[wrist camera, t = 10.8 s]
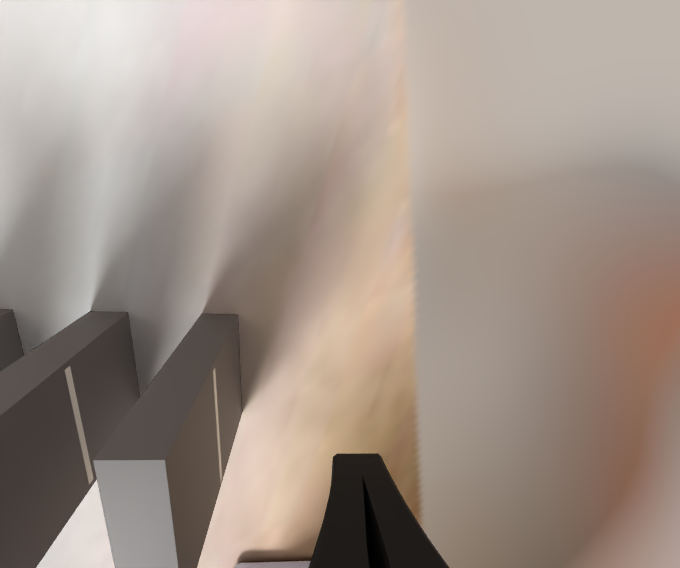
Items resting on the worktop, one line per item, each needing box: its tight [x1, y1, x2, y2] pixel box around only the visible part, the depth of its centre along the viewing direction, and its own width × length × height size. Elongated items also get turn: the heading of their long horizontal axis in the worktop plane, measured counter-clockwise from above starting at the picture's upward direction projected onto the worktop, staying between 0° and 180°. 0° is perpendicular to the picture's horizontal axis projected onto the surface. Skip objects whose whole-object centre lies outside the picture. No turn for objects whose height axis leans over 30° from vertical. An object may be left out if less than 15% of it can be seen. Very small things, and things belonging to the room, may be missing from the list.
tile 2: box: [0, 311, 140, 568], centre depth 12 cm, size 2×5×8 cm, turn 177°
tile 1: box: [93, 314, 242, 568], centre depth 13 cm, size 2×5×8 cm, turn 177°
